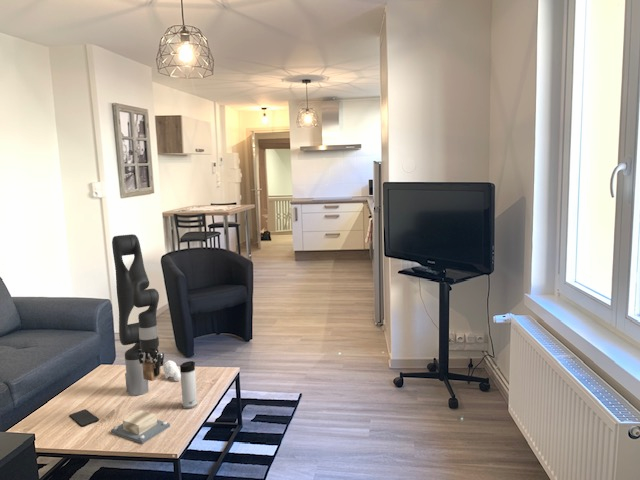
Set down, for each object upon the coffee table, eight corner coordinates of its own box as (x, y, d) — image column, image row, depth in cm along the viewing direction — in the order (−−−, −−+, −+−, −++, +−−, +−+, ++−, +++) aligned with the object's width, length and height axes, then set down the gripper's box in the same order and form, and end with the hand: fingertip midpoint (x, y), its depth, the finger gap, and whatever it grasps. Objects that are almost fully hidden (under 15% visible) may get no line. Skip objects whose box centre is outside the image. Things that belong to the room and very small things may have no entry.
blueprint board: (110, 432, 191) (110, 428, 190) (139, 416, 203) (138, 412, 203) (142, 443, 182) (142, 438, 182) (170, 426, 194) (169, 421, 194)
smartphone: (85, 408, 211) (99, 419, 201) (85, 410, 211) (100, 421, 201) (67, 415, 206) (81, 426, 196) (68, 417, 206) (81, 428, 196)
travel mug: (194, 409, 208) (191, 365, 205) (180, 408, 209) (177, 365, 206) (200, 402, 214) (197, 360, 211) (187, 401, 215) (183, 359, 212)
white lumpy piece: (172, 357, 245) (185, 365, 237) (173, 372, 247) (185, 381, 239) (161, 361, 241) (174, 369, 233) (161, 376, 242) (174, 385, 235)
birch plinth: (123, 429, 191) (122, 420, 190) (141, 419, 198) (140, 410, 198) (139, 434, 186) (138, 425, 186) (157, 424, 194) (156, 414, 194)
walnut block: (143, 379, 202) (142, 363, 201) (152, 374, 207) (151, 359, 206) (152, 381, 200) (150, 365, 199) (161, 376, 204) (159, 360, 203)
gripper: (129, 336, 201) (133, 375, 203) (154, 341, 194) (157, 381, 196) (143, 331, 208) (147, 368, 210) (168, 335, 201) (171, 374, 203)
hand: (152, 374), depth 203 cm, fingers closed on walnut block, 5 cm apart
